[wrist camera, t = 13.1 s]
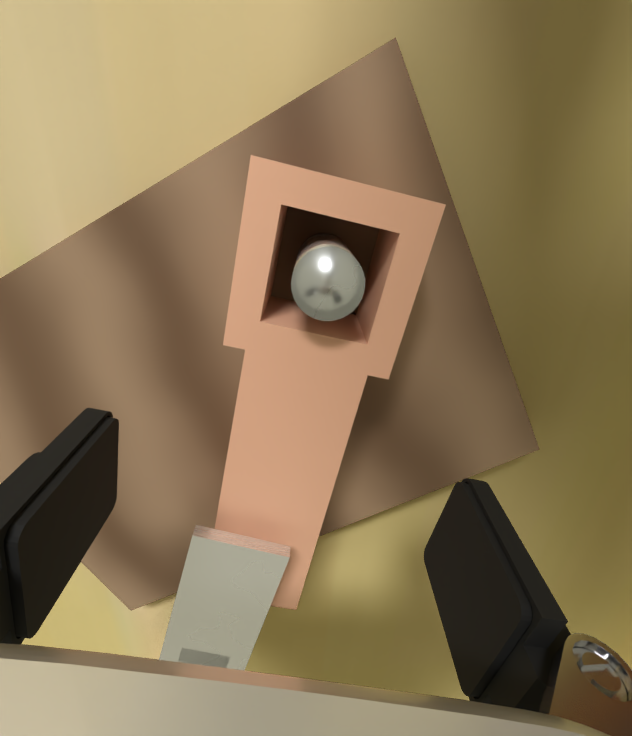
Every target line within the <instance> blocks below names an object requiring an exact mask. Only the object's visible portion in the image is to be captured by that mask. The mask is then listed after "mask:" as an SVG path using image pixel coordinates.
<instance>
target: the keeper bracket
mask: <svg viewBox="0 0 632 736" xmlns="http://www.w3.org/2000/svg"><path fill="white" fill-rule="evenodd" d="M289 558H290V546H286V545H282V544H278V543H274V542H269V541H265V540H261V539H256V538H252V537H248V536H243V535H239V534H235V533H230V532H226V531H222V530H218V529H213V528H209V527H205V526H200V525H196V527H195V529H194V532H193V535H192V539H191V542H190V546H189V550H188V554H187V557H186V561H185V565H184V569H183V572H182V576H181V580H180V584H179V587H178V591H177V595H176V599H175V602H174V606H173V610H172V613H171V617H170V621H169V625H168V628H167V632H166V636H165V640H164V643H163V647H162V651H161V655H160V658H159V660H165V661H173V662H181V663H189V664H197V665H205V666H213V667H221V668H229V669H236V670H245V668H246V665H247V663H248V660H249V658H250V655H251V653H252V650H253V648H254V645H255V643H256V640H257V638H258V635H259V633H260V630H261V628H262V625H263V623H264V621H265V618H266V616H267V613H268V611H269V608H270V606H271V603H272V601H273V598H274V596H275V593H276V591H277V588H278V586H279V583H280V581H281V578H282V576H283V573H284V571H285V568H286V566H287V563H288V561H289Z"/></svg>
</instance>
